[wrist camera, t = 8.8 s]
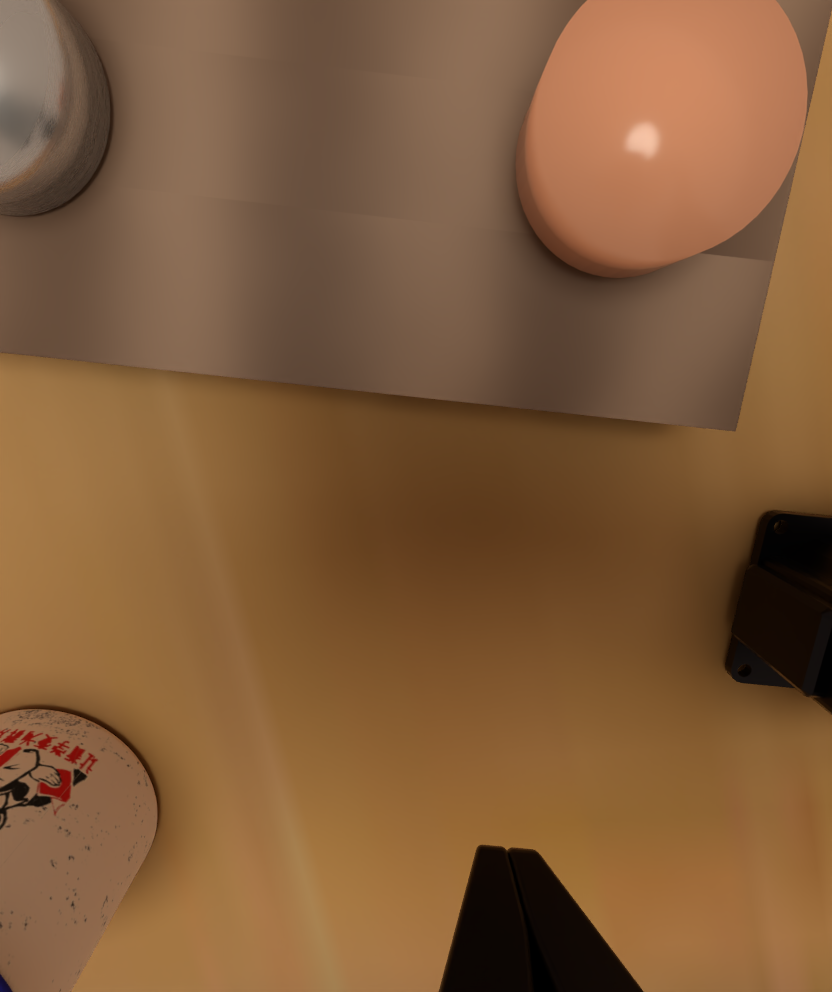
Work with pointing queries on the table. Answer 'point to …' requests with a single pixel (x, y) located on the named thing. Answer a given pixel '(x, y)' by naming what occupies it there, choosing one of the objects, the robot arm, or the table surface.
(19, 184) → the grey plunger
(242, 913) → the table surface
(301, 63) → the press block
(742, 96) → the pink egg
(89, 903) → the teacup with lid
